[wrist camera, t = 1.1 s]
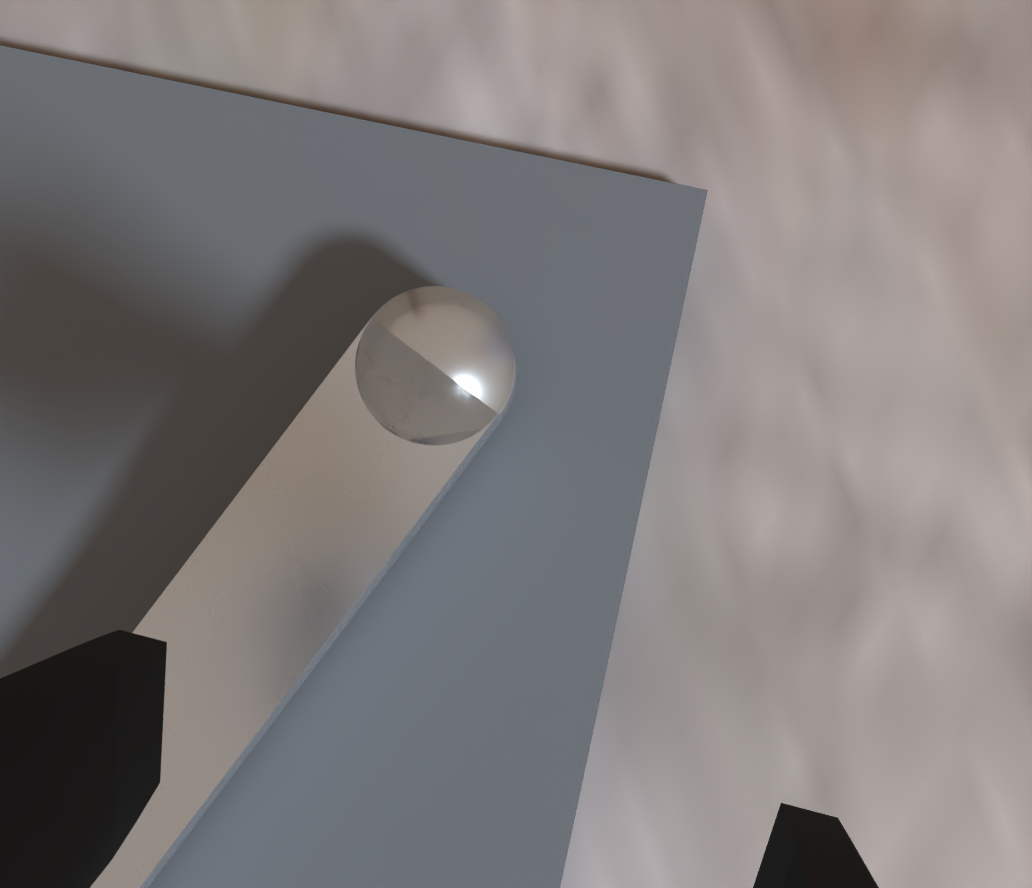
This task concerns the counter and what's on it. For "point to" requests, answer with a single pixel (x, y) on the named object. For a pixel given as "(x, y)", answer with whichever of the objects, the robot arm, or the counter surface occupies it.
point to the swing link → (312, 544)
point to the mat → (275, 404)
